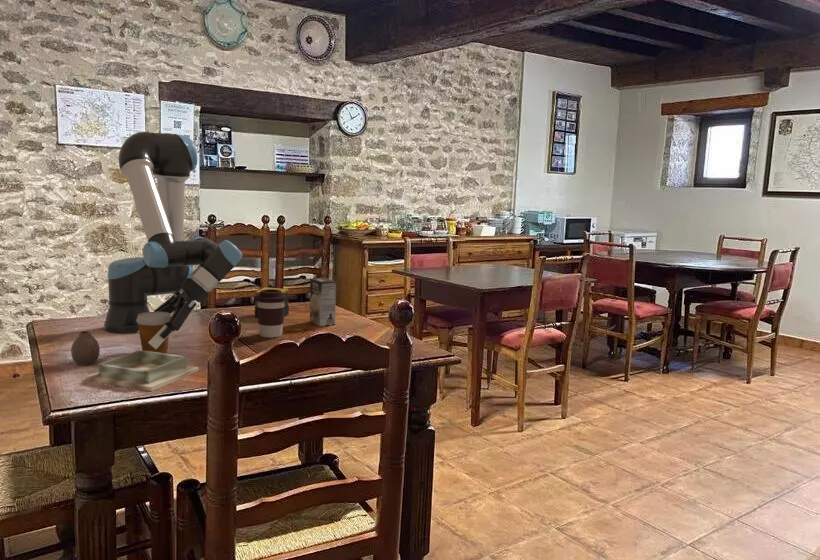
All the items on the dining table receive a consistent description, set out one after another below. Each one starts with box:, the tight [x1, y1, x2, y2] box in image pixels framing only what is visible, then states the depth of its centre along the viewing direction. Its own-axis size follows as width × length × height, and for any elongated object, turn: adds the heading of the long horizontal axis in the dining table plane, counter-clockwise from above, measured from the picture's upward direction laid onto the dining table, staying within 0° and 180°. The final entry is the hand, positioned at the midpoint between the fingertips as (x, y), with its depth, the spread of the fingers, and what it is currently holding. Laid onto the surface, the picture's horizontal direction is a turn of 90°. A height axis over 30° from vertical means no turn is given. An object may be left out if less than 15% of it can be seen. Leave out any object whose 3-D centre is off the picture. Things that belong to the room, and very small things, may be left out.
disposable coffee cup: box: [136, 311, 172, 354], centre depth 181 cm, size 10×10×12 cm
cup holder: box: [85, 350, 200, 392], centre depth 164 cm, size 20×18×4 cm
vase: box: [70, 330, 101, 366], centre depth 172 cm, size 7×7×9 cm
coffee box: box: [309, 277, 337, 327], centre depth 229 cm, size 9×6×16 cm
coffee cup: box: [254, 289, 286, 339], centre depth 209 cm, size 10×10×15 cm
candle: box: [254, 287, 290, 319], centre depth 238 cm, size 10×10×10 cm
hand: (146, 340), depth 180 cm, fingers open, 13 cm apart
